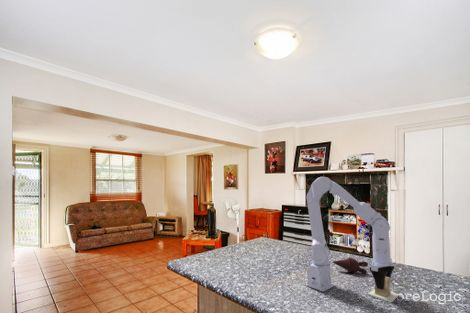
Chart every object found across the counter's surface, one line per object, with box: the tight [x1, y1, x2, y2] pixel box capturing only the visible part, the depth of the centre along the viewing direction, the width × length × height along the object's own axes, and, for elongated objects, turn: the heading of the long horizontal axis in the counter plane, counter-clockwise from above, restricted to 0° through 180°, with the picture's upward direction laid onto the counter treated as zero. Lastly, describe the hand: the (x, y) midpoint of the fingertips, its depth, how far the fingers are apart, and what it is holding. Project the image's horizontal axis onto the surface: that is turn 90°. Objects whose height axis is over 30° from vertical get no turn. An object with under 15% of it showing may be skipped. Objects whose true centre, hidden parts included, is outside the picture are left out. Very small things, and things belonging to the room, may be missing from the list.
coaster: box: [367, 288, 400, 304], centre depth 96 cm, size 8×8×1 cm
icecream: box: [332, 257, 369, 275], centre depth 121 cm, size 7×7×15 cm
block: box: [373, 277, 392, 297], centre depth 96 cm, size 4×4×6 cm
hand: (382, 286), depth 96 cm, fingers open, 5 cm apart
